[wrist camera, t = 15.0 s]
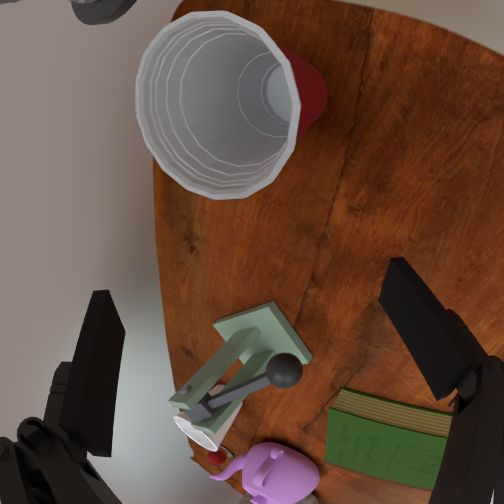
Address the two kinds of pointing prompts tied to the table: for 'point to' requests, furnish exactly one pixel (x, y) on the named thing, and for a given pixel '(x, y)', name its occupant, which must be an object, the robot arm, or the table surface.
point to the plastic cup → (224, 103)
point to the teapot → (274, 474)
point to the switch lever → (251, 385)
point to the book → (386, 439)
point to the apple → (218, 456)
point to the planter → (310, 500)
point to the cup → (205, 438)
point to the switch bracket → (241, 358)
